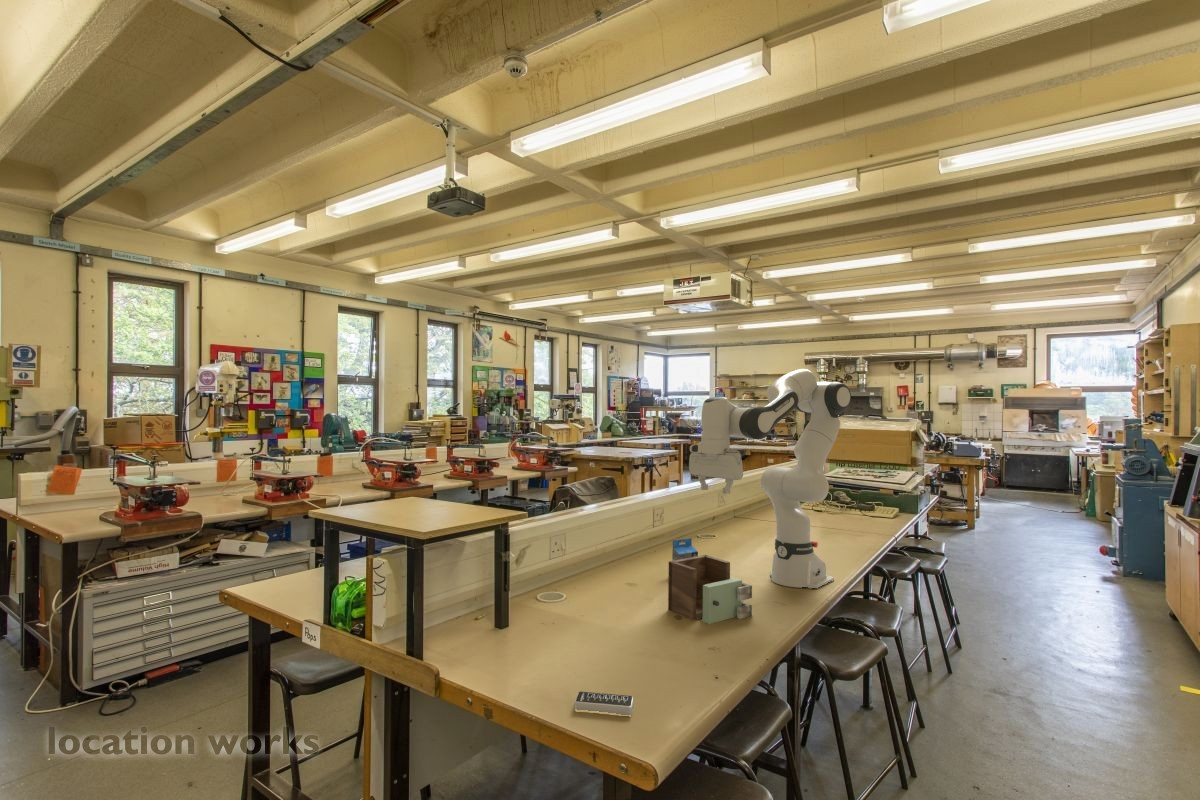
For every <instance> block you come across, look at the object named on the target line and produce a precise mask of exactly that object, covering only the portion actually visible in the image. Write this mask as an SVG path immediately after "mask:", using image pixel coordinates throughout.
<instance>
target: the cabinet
mask: <svg viewBox="0 0 1200 800" xmlns="http://www.w3.org/2000/svg"><path fill="white" fill-rule="evenodd" d="M728 579H731V562H730V561H728V560H724V559H721V558H718V557H714V556H711V555H707V554H703V555H698V556H697V557H691V558H686V559H680V560H675V561H672V560H670V561H668V583H667V584H668V587H667V589H668V590H667V591H668V598H667V599H668V601H667V603H668V605H667V608H668V609H667V610H668V611H670V612H672V613H675V614H677V615H679V616H681V617H684V618H685V619H688V620H690V621H695V620H699V619H703V585H706V584H710V583H715V582H719V581H724V580H728ZM751 599H753V585H751V584H749V583H746V582H742V587H738V588H737V600H738V601H742V606H740V607H737V617H736V619H739V620H741V619H745V618H749V617H752V616H753V610H752V609H753V605H752V604H750V603H747V602H745V601H746V600H751Z"/></svg>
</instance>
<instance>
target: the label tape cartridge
mask: <svg viewBox="0 0 1200 800" xmlns="http://www.w3.org/2000/svg"><path fill="white" fill-rule="evenodd" d="M682 543H684V544H682ZM692 544H693V543H692V538H690V537H689V538H682V539H674V540H673V539H672V553H671V554H672V555H671V557H672V559H671V561H675V560H680V559H686V558H691V557H697V556H699V551H698V550H697V549H696V548H695V546H693V545H692Z"/></svg>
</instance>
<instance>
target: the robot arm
mask: <svg viewBox="0 0 1200 800" xmlns="http://www.w3.org/2000/svg"><path fill="white" fill-rule="evenodd" d="M817 380H818V379H817V377H816V376H815V374H814V373H813V372H812V371H810V370H809V369H807V368H806V369H805V368H799V369H796V370H792V371H790V372H788V373H785V374H783V375H782V376H780V377H778V378H777V379H775V380H773V381H772V382H770V384H769V385H768V387H767V391H766V397H767V400H768V404H767V405H765V406H752V407H738V405H735V404H733V403H732V402H731V401H730V400H729V399H728V398H727V397H726V396H715V397H709V398H706V399H705V400H704V401H703V403H702V406H701V407H702V409H701V422H700V423H701V428H702V434H701V438H700V439H701V441H700V442H697V443H694V444H692V445H690V446H689V451H690V455H689V458H688V459H689V462H688V468H689V469H688V470H689V472H690V474H691V475H693V476H698V478H697V479H698V481H699V484H700V490H702V491H708V489H709V484H707V482H706V479H707V478H715V479H724V483H725V487H722V493H723V494H726V495H730V494H731V488H732V486H733V484H734V481H740V480H742V479H743V478H744V467H743V461H742V454H741V452H740V451H738V449H735V448H734V449H731V448H730V446H731V445H730V443H731V442H730V439H731V438H732V437H733V438H745V439H751V440H759V441H760V440H763V439H765V438H766V437H767V436H768V435H770V433H771V431H772V430H773V428H774V427H775V426H776V424H778V423H779V422H780V421H781V420H782V419H784V418H785V417H786V416H788V415H789V414H790V413H791V412H792V411H793V410H795V411H797V412H800V413H805V414H806V413H810V414H811V415H810V420H809V422H808V423H807V425H805V428H803V431H802V433H801V434H800V437H799V438H798V440H797V442H796V443H795V446H794V447H793V453H794V456H795V458H796V459H797V460H798V461H797V463H796V466H795V467H787V466H775V467H774V466H773V467H769V468H766V469H765V470H764V471H763V472H762V475H761V478H760V485H761V488H762V489H763V491H764V492H765V494H766V495H767V496H768V497H769V500H770V502H771V504H772V507H773V510H774V514H775V525H776V529H775V531H776V535H775V536H776V538H775V539H774V550H775V552H774V553H773V558H772V567H771V568H772V569H771V572H770V573H769V577H771V578H770V580H771V581H772V582H773V583H775V584H777V585H781V586H785V587H789V588H799V589H800V588H802V587H808V588H807V589H812V588H817V589H819V588H818V587H820V586H822V585H824V584H826V583H828V582H830V581H832V580H835V578H834V577H833V576H831V575H829V574H827V565H826V563H825V561H824V560H823V559H822V558H820V557H819V556H818V555H817V554H816V553H815V552H814V551H815V550H814V548H818V547H819V542H818V541H813V540H811V519H810V517H809V515H808V514H807V513H806V512H805V511H804V510H803V508H802V506H801V503H806V504H807V503H808V504H810V503H820V502H822V501H824V500H825V499H826V498H827V496H828V495H829V494H828V493H829V491H830V484H829V481H828V479H827V477H826V476H825V473H824V467H825V463H826V460H827V459H828V457H829V454H830V452H831V451H832V448H833V447H834V445H835V442H836V440H837V437H838V435H839V431H840V428H841V420H840V418H841V417H842V416H844V414H845V412H846V411H847V410H848V407H849V406H850V403H851V401H852V393H851V391H850V389H849V387H848V385H847V384H846V383H843V382H838V381H832V382H829V381H817ZM800 502H801V503H800ZM832 582H833V581H832ZM830 583H831V582H830ZM828 584H829V583H828ZM826 585H827V584H826ZM824 586H825V585H824ZM822 587H823V586H822ZM820 588H821V587H820Z"/></svg>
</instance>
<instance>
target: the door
mask: <svg viewBox="0 0 1200 800" xmlns="http://www.w3.org/2000/svg"><path fill="white" fill-rule="evenodd" d="M742 583H743V580H742V579H740V578H737V577H733V578H730V579H728V580H724V581H719V582H715V583H710V584H706V585H703V618H702V622H703V623H705V624H707V625H710V624H715V623H718V622H722V621H725V620H726V621H727V620H728V619H732V618H733V619H734V618H737V607H740V606H742V602H743V601H738V600H737V588H738V587H742Z"/></svg>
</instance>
